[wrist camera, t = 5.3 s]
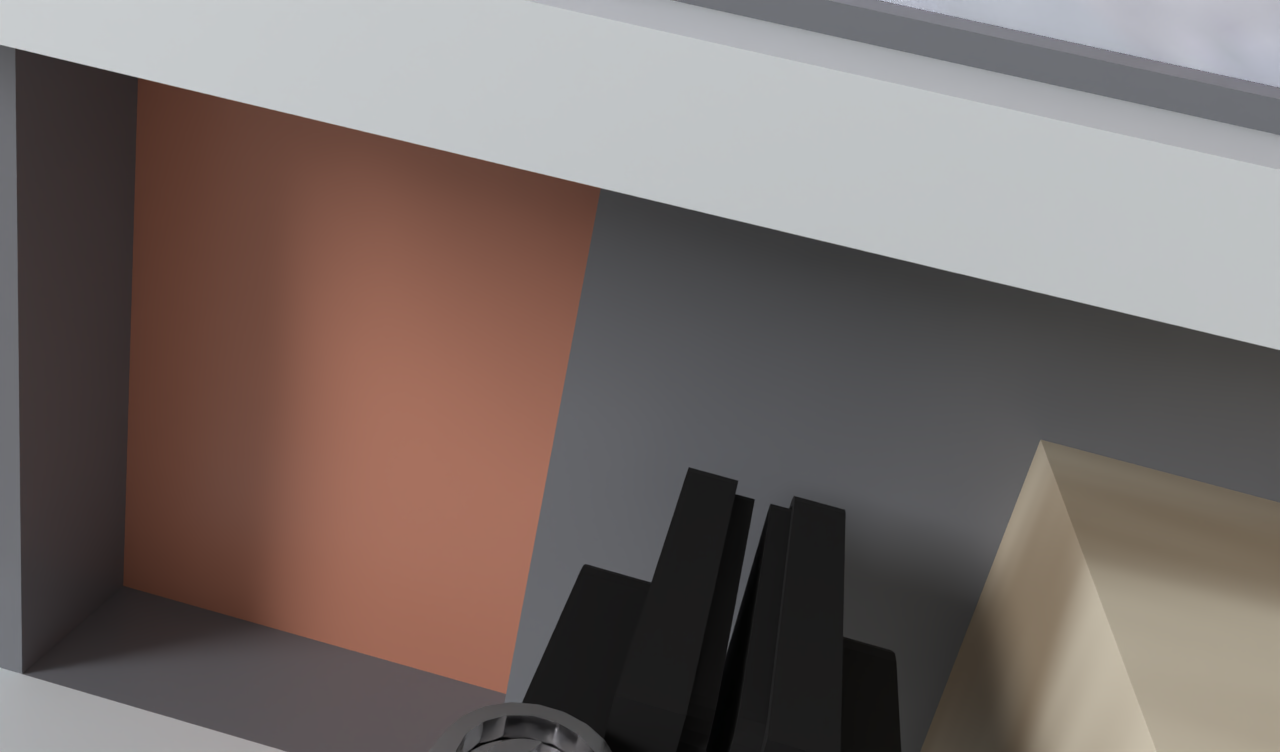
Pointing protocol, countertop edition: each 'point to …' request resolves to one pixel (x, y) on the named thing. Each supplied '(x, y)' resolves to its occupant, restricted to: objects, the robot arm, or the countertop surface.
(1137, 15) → the countertop surface
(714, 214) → the gray tray
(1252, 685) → the block
